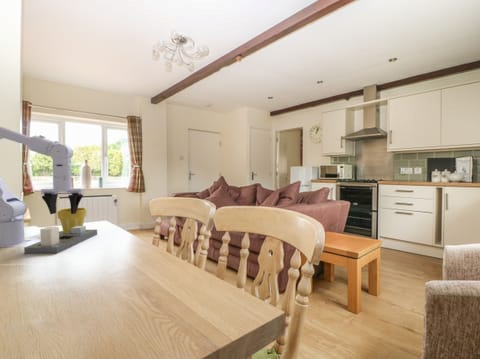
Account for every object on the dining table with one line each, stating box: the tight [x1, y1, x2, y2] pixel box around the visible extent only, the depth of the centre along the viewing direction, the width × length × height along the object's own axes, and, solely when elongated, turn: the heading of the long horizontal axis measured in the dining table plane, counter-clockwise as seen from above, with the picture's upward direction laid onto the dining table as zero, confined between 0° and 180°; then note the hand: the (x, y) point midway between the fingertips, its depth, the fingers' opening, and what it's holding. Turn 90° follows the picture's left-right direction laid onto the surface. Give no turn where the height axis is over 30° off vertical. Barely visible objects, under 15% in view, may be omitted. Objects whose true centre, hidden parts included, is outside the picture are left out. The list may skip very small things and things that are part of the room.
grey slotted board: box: [23, 229, 98, 255], centre depth 93 cm, size 10×24×2 cm, turn 1°
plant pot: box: [56, 207, 87, 233], centre depth 112 cm, size 10×10×10 cm
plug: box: [39, 226, 60, 246], centre depth 85 cm, size 4×4×7 cm
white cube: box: [71, 225, 87, 234], centre depth 101 cm, size 4×4×4 cm
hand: (63, 213), depth 97 cm, fingers open, 7 cm apart
